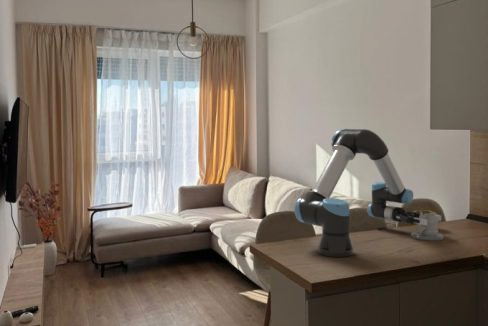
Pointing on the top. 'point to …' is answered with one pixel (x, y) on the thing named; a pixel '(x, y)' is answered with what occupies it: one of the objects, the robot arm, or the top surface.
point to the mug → (429, 225)
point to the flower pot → (425, 212)
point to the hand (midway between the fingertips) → (433, 220)
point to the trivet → (424, 237)
